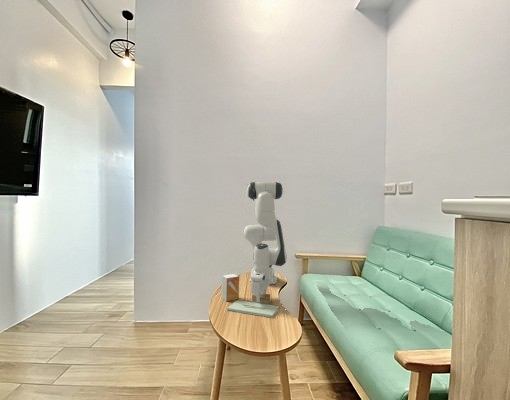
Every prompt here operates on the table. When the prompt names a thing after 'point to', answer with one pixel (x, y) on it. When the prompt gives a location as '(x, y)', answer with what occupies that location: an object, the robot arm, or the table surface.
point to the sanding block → (262, 298)
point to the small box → (230, 287)
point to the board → (253, 308)
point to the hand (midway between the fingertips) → (261, 298)
